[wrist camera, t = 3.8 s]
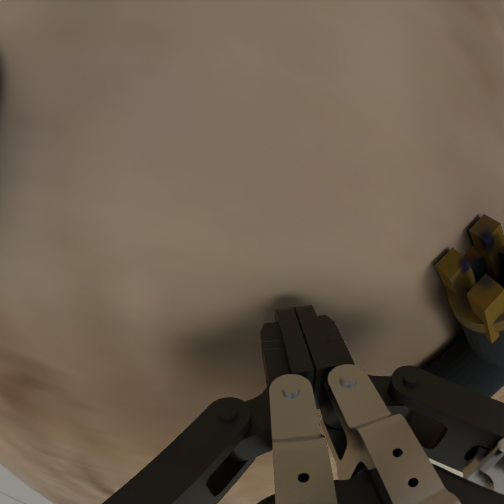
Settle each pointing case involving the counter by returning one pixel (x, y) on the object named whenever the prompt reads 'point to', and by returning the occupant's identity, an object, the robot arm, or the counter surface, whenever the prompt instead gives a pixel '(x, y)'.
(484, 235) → the pipe connector
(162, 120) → the counter surface
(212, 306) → the counter surface
